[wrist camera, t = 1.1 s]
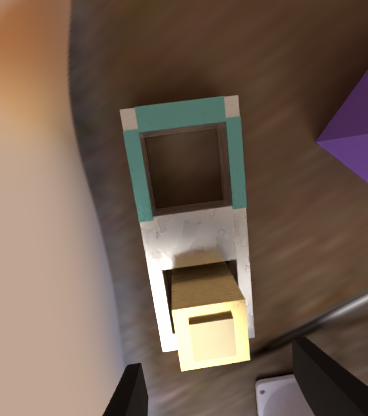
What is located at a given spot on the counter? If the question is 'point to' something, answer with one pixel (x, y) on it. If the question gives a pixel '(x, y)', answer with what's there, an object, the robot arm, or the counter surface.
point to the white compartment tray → (192, 213)
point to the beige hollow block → (208, 316)
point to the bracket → (350, 131)
